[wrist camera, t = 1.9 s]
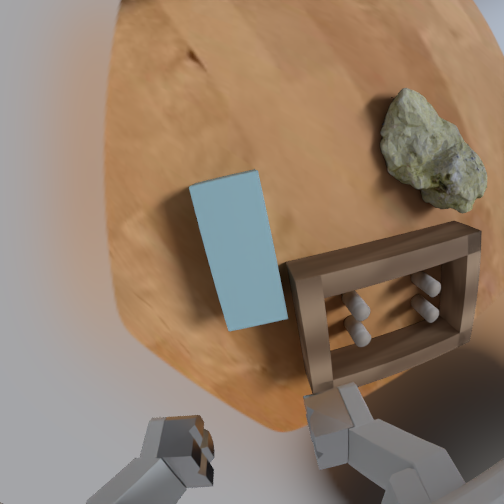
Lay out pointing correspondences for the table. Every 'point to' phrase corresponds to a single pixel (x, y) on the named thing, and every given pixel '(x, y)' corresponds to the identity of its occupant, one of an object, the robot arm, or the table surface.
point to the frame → (359, 276)
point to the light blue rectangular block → (240, 249)
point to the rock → (430, 154)
